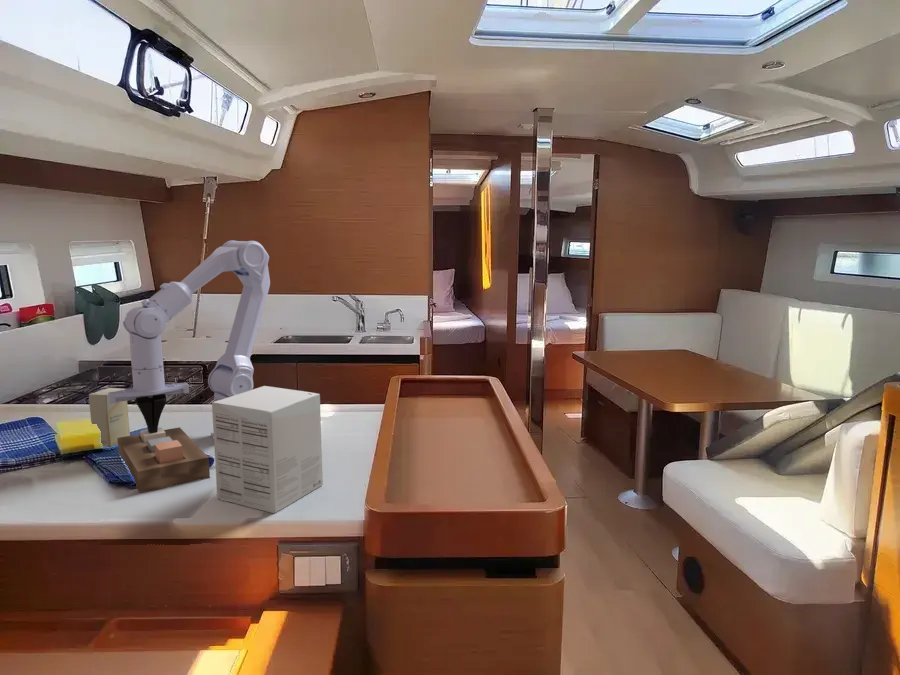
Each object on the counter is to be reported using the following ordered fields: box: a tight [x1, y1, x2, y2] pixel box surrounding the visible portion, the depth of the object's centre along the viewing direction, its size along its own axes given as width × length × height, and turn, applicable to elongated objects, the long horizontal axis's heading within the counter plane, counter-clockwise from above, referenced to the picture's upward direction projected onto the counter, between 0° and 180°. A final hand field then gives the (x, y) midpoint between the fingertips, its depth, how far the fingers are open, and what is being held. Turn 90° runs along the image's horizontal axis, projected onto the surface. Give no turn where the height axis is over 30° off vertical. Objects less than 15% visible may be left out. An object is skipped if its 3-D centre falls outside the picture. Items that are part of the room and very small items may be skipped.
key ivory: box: [139, 427, 166, 443], centre depth 125 cm, size 4×4×4 cm
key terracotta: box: [154, 440, 183, 464], centre depth 114 cm, size 4×4×4 cm
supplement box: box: [211, 385, 324, 514], centre depth 107 cm, size 13×13×18 cm
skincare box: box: [88, 387, 131, 447], centre depth 131 cm, size 6×4×12 cm
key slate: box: [147, 436, 173, 453], centre depth 120 cm, size 4×4×4 cm
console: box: [117, 426, 211, 494], centre depth 120 cm, size 12×22×4 cm, turn 37°
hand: (152, 431), depth 125 cm, fingers closed, pressing on key ivory
